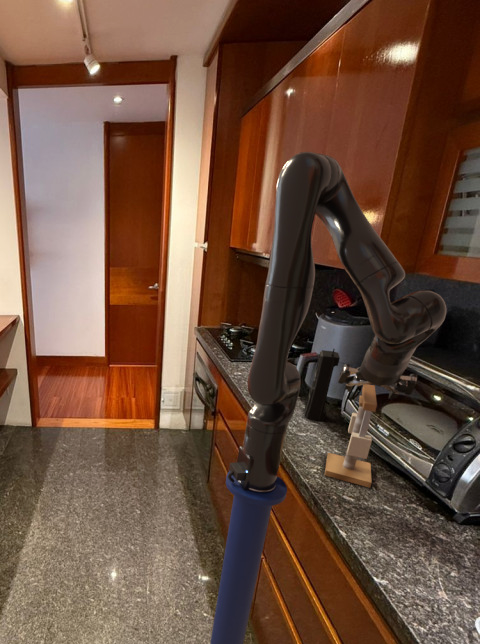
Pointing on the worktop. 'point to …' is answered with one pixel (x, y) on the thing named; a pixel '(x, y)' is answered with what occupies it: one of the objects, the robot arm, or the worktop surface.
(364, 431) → the brown blocky piece
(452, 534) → the worktop surface
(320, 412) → the portable radio
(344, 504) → the worktop surface
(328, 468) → the headphone stand
